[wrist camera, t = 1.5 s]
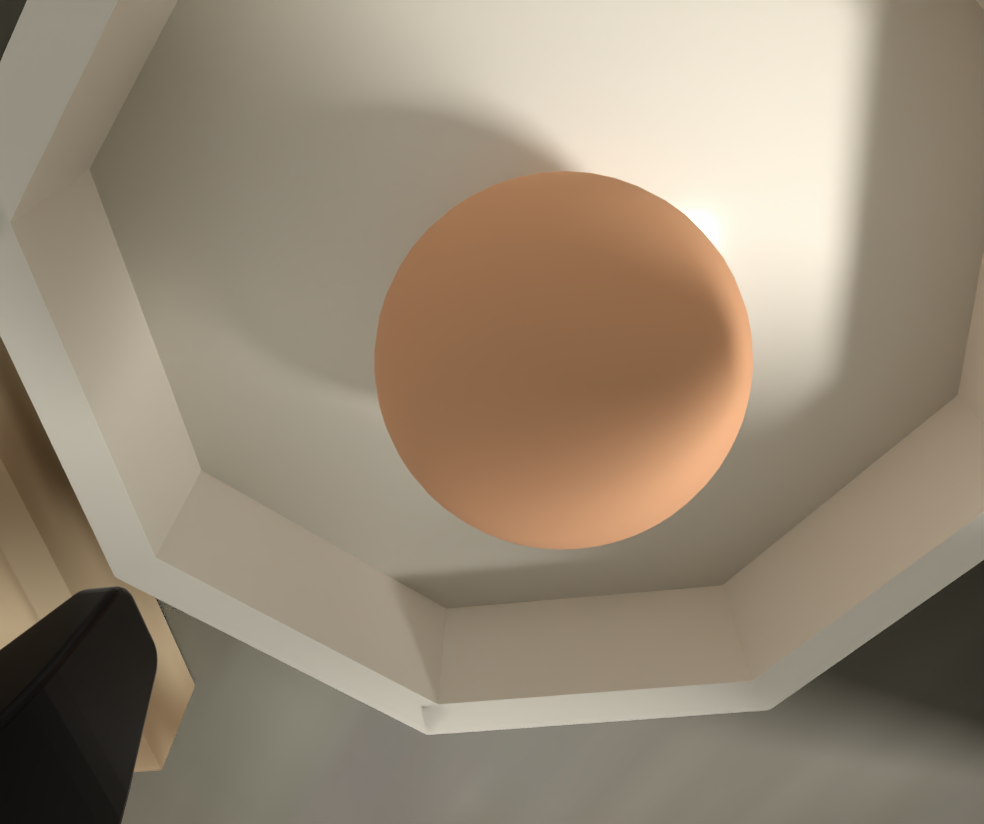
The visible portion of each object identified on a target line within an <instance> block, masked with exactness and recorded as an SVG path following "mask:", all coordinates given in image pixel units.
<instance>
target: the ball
mask: <svg viewBox="0 0 984 824" xmlns="http://www.w3.org/2000/svg"><path fill="white" fill-rule="evenodd" d="M374 373H375V381H376V388H377V394H378V401H379V406H380V410H381V413H382V416H383V419H384V423H385V426H386V428H387V431H388V433H389V435H390V437H391V439H392V442H393V444H394V446H395V448H396V450H397V452H398V454H399V456H400V458H401V459H402V461H403V462H404V464H405V465H406V467H407V468H408V470H409V471H410V473H411V474H412V475H413V476H414V477H415V479H416V480H417V481H418V482H419V483H420V484H421V486H422V487H423V488H424V489H425V490H426V491H427V493H428V494H429V495H430V496H431V497H432V498H433V499H435V500H436V501H437V502H438V503H439V504H440V505H441V506H442V507H444V508H445V509H446V510H448V511H449V512H450V513H452V514H453V515H455V516H456V517H458V518H459V519H461V520H462V521H464V522H465V523H467V524H469V525H471V526H473V527H474V528H476V529H478V530H480V531H482V532H484V533H486V534H488V535H491V536H494V537H496V538H499V539H501V540H504V541H508V542H511V543H515V544H519V545H523V546H529V547H535V548H542V549H558V550H562V549H582V548H589V547H596V546H601V545H606V544H610V543H614V542H618V541H621V540H624V539H626V538H629V537H632V536H635V535H637V534H639V533H642V532H644V531H646V530H648V529H650V528H652V527H654V526H656V525H657V524H659V523H661V522H662V521H664V520H665V519H667V518H669V517H670V516H672V515H673V514H674V513H676V512H677V511H678V510H679V509H681V508H682V507H683V506H684V505H686V504H687V503H688V502H689V501H690V500H691V499H692V498H693V497H694V496H695V495H696V494H697V493H698V492H699V491H700V490H701V489H702V488H703V487H704V486H705V485H706V484H707V483H708V482H709V480H710V479H711V478H712V477H713V475H714V474H715V473H716V472H717V470H718V469H719V468H720V466H721V464H722V463H723V461H724V459H725V457H726V456H727V454H728V452H729V451H730V449H731V447H732V445H733V443H734V441H735V439H736V437H737V434H738V432H739V430H740V427H741V425H742V422H743V420H744V416H745V412H746V408H747V404H748V400H749V395H750V390H751V382H752V373H753V350H752V336H751V329H750V324H749V319H748V314H747V310H746V307H745V304H744V301H743V299H742V296H741V293H740V290H739V288H738V285H737V283H736V280H735V278H734V276H733V274H732V272H731V270H730V269H729V267H728V265H727V263H726V261H725V260H724V258H723V256H722V255H721V254H720V253H719V251H718V250H717V249H716V247H715V246H714V245H713V243H712V242H711V241H710V240H709V238H708V237H707V236H706V235H705V234H704V232H703V231H702V230H701V229H700V228H699V227H698V226H697V225H696V224H695V223H694V222H693V221H691V220H690V219H689V218H688V217H687V216H686V215H685V214H684V213H682V212H681V211H680V210H678V209H677V208H675V207H674V206H673V205H671V204H670V203H668V202H667V201H666V200H664V199H662V198H660V197H658V196H656V195H654V194H652V193H650V192H648V191H646V190H645V189H643V188H641V187H639V186H636V185H633V184H631V183H628V182H625V181H622V180H619V179H616V178H613V177H608V176H603V175H598V174H594V173H585V172H572V171H559V172H542V173H536V174H531V175H526V176H520V177H516V178H513V179H510V180H507V181H504V182H501V183H498V184H495V185H492V186H490V187H488V188H486V189H484V190H482V191H480V192H478V193H475V194H473V195H471V196H470V197H468V198H467V199H465V200H464V201H462V202H461V203H459V204H458V205H456V206H455V207H453V208H452V209H450V210H449V211H448V212H447V213H446V214H445V215H443V216H442V217H441V218H440V219H439V220H438V221H437V222H435V223H434V224H433V225H432V226H431V227H430V228H429V229H428V230H427V231H426V232H425V233H424V234H423V235H422V236H421V238H420V239H419V240H418V241H417V242H416V243H415V244H414V246H413V247H412V248H411V250H410V251H409V253H408V254H407V256H406V257H405V259H404V260H403V262H402V264H401V265H400V267H399V269H398V271H397V273H396V275H395V277H394V279H393V281H392V284H391V286H390V288H389V290H388V292H387V294H386V297H385V300H384V303H383V307H382V310H381V313H380V317H379V322H378V329H377V336H376V343H375V350H374Z"/></svg>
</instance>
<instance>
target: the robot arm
mask: <svg viewBox="0 0 984 824" xmlns="http://www.w3.org/2000/svg"><path fill="white" fill-rule="evenodd" d="M157 662H158V659H157V650H156V646H155V643H154V641H153V639H152V636H151V634H150V632H149V630H148V628H147V626H146V624H145V621H144V619H143V617H142V615H141V613H140V611H139V609H138V606H137V604H136V602H135V600H134V598H133V596H132V595H131V593H130V592H129V591H128V590H127V589H125V588H123V587H119V586H113V587H102V588H90V589H85V590H81V591H79V592H77V593H76V594H74V595H73V596H72V597H70V598H69V599H68V600H66V601H65V602H64V603H62V604H61V605H60V606H58V607H57V608H56V609H54V610H53V611H52V612H50V613H49V614H48V615H46V616H45V617H43V618H42V619H41V620H39V621H38V622H37V623H35V624H34V625H33V626H31V627H30V628H29V629H27V630H26V631H25V632H23V633H22V634H21V635H19V636H18V637H17V638H15V639H14V640H13V641H11V642H10V643H9V644H7V645H6V646H5V647H3V648H2V649H1V650H0V824H121V821H122V818H123V814H124V810H125V806H126V802H127V798H128V795H129V790H130V786H131V781H132V777H133V773H134V768H135V764H136V760H137V755H138V751H139V746H140V742H141V738H142V733H143V729H144V725H145V720H146V716H147V711H148V707H149V703H150V698H151V694H152V689H153V685H154V681H155V676H156V672H157Z"/></svg>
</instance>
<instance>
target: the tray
mask: <svg viewBox="0 0 984 824" xmlns="http://www.w3.org/2000/svg"><path fill="white" fill-rule="evenodd" d="M113 586H119V587H123V588H125V589H127V590H128V591H129V592H130V593H131V595H132V596H133V598H134V600H135V602H136V604H137V606H138V609H139V611H140V613H141V615H142V617H143V619H144V621H145V624H146V626H147V628H148V630H149V632H150V634H151V636H152V639H153V641H154V643H155V646H156V650H157V659H158V662H157V672H156V676H155V681H154V685H153V689H152V694H151V698H150V703H149V707H148V711H147V716H146V720H145V725H144V729H143V733H142V738H141V742H140V746H139V751H138V755H137V760H136V764H135V768H134V772H140V771H154V770H162V768H163V766H164V763H165V760H166V758H167V755H168V753H169V750H170V748H171V745H172V743H173V740H174V738H175V735H176V733H177V730H178V727H179V725H180V722H181V720H182V717H183V715H184V712H185V710H186V707H187V705H188V702H189V699H190V697H191V694H192V692H193V689H194V687H195V685H194V682H193V680H192V678H191V676H190V673H189V671H188V669H187V667H186V664H185V662H184V660H183V658H182V656H181V653H180V651H179V649H178V647H177V644H176V642H175V640H174V638H173V636H172V633H171V631H170V629H169V627H168V624H167V622H166V620H165V618H164V615H163V613H162V611H161V609H160V607H159V604H158V602H157V600H156V598H155V597H153V596H151V595H149V594H147V593H145V592H143V591H141V590H139V589H137V588H135V587H133V586H131V585H129V584H127V583H125V582H123V581H122V580H120V579H118V578H116V577H115V576H114V574H113V572H112V570H111V568H110V566H109V564H108V562H107V560H106V557H105V555H104V553H103V551H102V549H101V547H100V545H99V543H98V541H97V539H96V536H95V534H94V532H93V530H92V528H91V526H90V524H89V522H88V520H87V517H86V515H85V513H84V511H83V509H82V507H81V505H80V503H79V501H78V498H77V496H76V494H75V492H74V490H73V488H72V486H71V484H70V482H69V480H68V477H67V475H66V473H65V471H64V469H63V467H62V465H61V463H60V461H59V458H58V456H57V454H56V452H55V450H54V448H53V446H52V444H51V442H50V439H49V437H48V435H47V433H46V431H45V429H44V427H43V425H42V423H41V420H40V418H39V416H38V414H37V412H36V410H35V408H34V406H33V404H32V402H31V399H30V397H29V395H28V393H27V391H26V389H25V387H24V385H23V383H22V380H21V378H20V376H19V374H18V372H17V370H16V368H15V366H14V364H13V361H12V359H11V357H10V355H9V353H8V351H7V349H6V347H5V345H4V342H3V340H2V338H1V336H0V650H1V649H2V648H3V647H5V646H6V645H7V644H9V643H10V642H11V641H13V640H14V639H15V638H17V637H18V636H19V635H21V634H22V633H23V632H25V631H26V630H27V629H29V628H30V627H31V626H33V625H34V624H35V623H37V622H38V621H39V620H41V619H42V618H43V617H45V616H46V615H48V614H49V613H50V612H52V611H53V610H54V609H56V608H57V607H58V606H60V605H61V604H62V603H64V602H65V601H66V600H68V599H69V598H70V597H72V596H73V595H74V594H76V593H77V592H79V591H81V590H85V589H90V588H102V587H113Z"/></svg>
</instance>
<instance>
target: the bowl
mask: <svg viewBox="0 0 984 824" xmlns="http://www.w3.org/2000/svg"><path fill="white" fill-rule="evenodd" d="M559 171H572V172H585V173H594V174H598V175H603V176H608V177H613V178H616V179H619V180H622V181H625V182H628V183H631V184H633V185H636V186H639V187H641V188H643V189H645V190H646V191H648V192H650V193H652V194H654V195H656V196H658V197H660V198H662V199H664V200H666V201H667V202H668V203H670V204H671V205H673V206H674V207H675V208H677V209H678V210H680V211H681V212H682V213H684V214H685V215H686V216H687V217H688V218H689V219H690V220H691V221H693V222H694V223H695V224H696V225H697V226H698V227H699V228H700V229H701V230H702V231H703V232H704V234H705V235H706V236H707V237H708V238H709V240H710V241H711V242H712V243H713V245H714V246H715V247H716V249H717V250H718V251H719V253H720V254H721V255H722V256H723V258H724V260H725V261H726V263H727V265H728V267H729V269H730V270H731V272H732V274H733V276H734V278H735V280H736V283H737V285H738V288H739V290H740V293H741V296H742V299H743V301H744V304H745V307H746V310H747V314H748V319H749V324H750V329H751V336H752V350H753V373H752V382H751V390H750V395H749V400H748V404H747V408H746V412H745V416H744V420H743V422H742V425H741V427H740V430H739V432H738V434H737V437H736V439H735V441H734V443H733V445H732V447H731V449H730V451H729V452H728V454H727V456H726V457H725V459H724V461H723V463H722V464H721V466H720V468H719V469H718V470H717V472H716V473H715V474H714V475H713V477H712V478H711V479H710V480H709V482H708V483H707V484H706V485H705V486H704V487H703V488H702V489H701V490H700V491H699V492H698V493H697V494H696V495H695V496H694V497H693V498H692V499H691V500H690V501H689V502H688V503H687V504H686V505H684V506H683V507H682V508H681V509H679V510H678V511H677V512H676V513H674V514H673V515H672V516H670V517H669V518H667V519H665V520H664V521H662V522H661V523H659V524H657V525H656V526H654V527H652V528H650V529H648V530H646V531H644V532H642V533H639V534H637V535H635V536H632V537H629V538H626V539H624V540H621V541H618V542H614V543H610V544H606V545H601V546H596V547H589V548H582V549H562V550H558V549H542V548H535V547H529V546H523V545H519V544H515V543H511V542H508V541H504V540H501V539H499V538H496V537H494V536H491V535H488V534H486V533H484V532H482V531H480V530H478V529H476V528H474V527H473V526H471V525H469V524H467V523H465V522H464V521H462V520H461V519H459V518H458V517H456V516H455V515H453V514H452V513H450V512H449V511H448V510H446V509H445V508H444V507H442V506H441V505H440V504H439V503H438V502H437V501H436V500H435V499H433V498H432V497H431V496H430V495H429V494H428V493H427V491H426V490H425V489H424V488H423V487H422V486H421V484H420V483H419V482H418V481H417V480H416V479H415V477H414V476H413V475H412V474H411V473H410V471H409V470H408V468H407V467H406V465H405V464H404V462H403V461H402V459H401V458H400V456H399V454H398V452H397V450H396V448H395V446H394V444H393V442H392V439H391V437H390V435H389V433H388V431H387V428H386V426H385V423H384V419H383V416H382V413H381V410H380V406H379V401H378V394H377V388H376V381H375V373H374V350H375V343H376V336H377V329H378V322H379V317H380V313H381V310H382V307H383V303H384V300H385V297H386V294H387V292H388V290H389V288H390V286H391V284H392V281H393V279H394V277H395V275H396V273H397V271H398V269H399V267H400V265H401V264H402V262H403V260H404V259H405V257H406V256H407V254H408V253H409V251H410V250H411V248H412V247H413V246H414V244H415V243H416V242H417V241H418V240H419V239H420V238H421V236H422V235H423V234H424V233H425V232H426V231H427V230H428V229H429V228H430V227H431V226H432V225H433V224H434V223H435V222H437V221H438V220H439V219H440V218H441V217H442V216H443V215H445V214H446V213H447V212H448V211H449V210H450V209H452V208H453V207H455V206H456V205H458V204H459V203H461V202H462V201H464V200H465V199H467V198H468V197H470V196H471V195H473V194H475V193H478V192H480V191H482V190H484V189H486V188H488V187H490V186H492V185H495V184H498V183H501V182H504V181H507V180H510V179H513V178H516V177H520V176H526V175H531V174H536V173H542V172H559ZM0 336H1V338H2V340H3V342H4V345H5V347H6V349H7V351H8V353H9V355H10V357H11V359H12V361H13V364H14V366H15V368H16V370H17V372H18V374H19V376H20V378H21V380H22V383H23V385H24V387H25V389H26V391H27V393H28V395H29V397H30V399H31V402H32V404H33V406H34V408H35V410H36V412H37V414H38V416H39V418H40V420H41V423H42V425H43V427H44V429H45V431H46V433H47V435H48V437H49V439H50V442H51V444H52V446H53V448H54V450H55V452H56V454H57V456H58V458H59V461H60V463H61V465H62V467H63V469H64V471H65V473H66V475H67V477H68V480H69V482H70V484H71V486H72V488H73V490H74V492H75V494H76V496H77V498H78V501H79V503H80V505H81V507H82V509H83V511H84V513H85V515H86V517H87V520H88V522H89V524H90V526H91V528H92V530H93V532H94V534H95V536H96V539H97V541H98V543H99V545H100V547H101V549H102V551H103V553H104V555H105V557H106V560H107V562H108V564H109V566H110V568H111V570H112V572H113V574H114V576H115V577H116V578H118V579H120V580H122V581H123V582H125V583H127V584H129V585H131V586H133V587H135V588H137V589H139V590H141V591H143V592H145V593H147V594H149V595H151V596H153V597H155V598H157V599H159V600H161V601H163V602H165V603H167V604H169V605H171V606H173V607H175V608H177V609H179V610H181V611H183V612H185V613H187V614H189V615H191V616H193V617H195V618H197V619H199V620H201V621H203V622H205V623H207V624H209V625H211V626H213V627H215V628H217V629H219V630H221V631H222V632H224V633H226V634H228V635H230V636H232V637H234V638H236V639H238V640H240V641H242V642H244V643H246V644H248V645H250V646H252V647H254V648H256V649H258V650H260V651H262V652H264V653H266V654H268V655H270V656H272V657H274V658H276V659H278V660H280V661H282V662H284V663H286V664H288V665H290V666H292V667H294V668H296V669H298V670H300V671H302V672H304V673H306V674H308V675H310V676H312V677H314V678H316V679H318V680H320V681H321V682H323V683H325V684H327V685H329V686H331V687H333V688H335V689H337V690H339V691H341V692H343V693H345V694H347V695H349V696H351V697H353V698H355V699H357V700H359V701H361V702H363V703H365V704H367V705H369V706H371V707H373V708H375V709H377V710H379V711H381V712H383V713H385V714H387V715H389V716H391V717H393V718H395V719H397V720H399V721H401V722H403V723H405V724H407V725H409V726H411V727H413V728H415V729H417V730H418V731H420V732H422V733H424V734H426V735H432V734H446V733H460V732H474V731H488V730H502V729H515V728H529V727H543V726H557V725H571V724H584V723H598V722H612V721H626V720H640V719H654V718H667V717H681V716H695V715H709V714H723V713H736V712H750V711H764V710H770V709H772V708H773V707H775V706H776V705H778V704H779V703H780V702H782V701H783V700H785V699H786V698H788V697H789V696H790V695H792V694H793V693H795V692H796V691H798V690H799V689H800V688H802V687H803V686H805V685H806V684H808V683H809V682H810V681H812V680H813V679H815V678H816V677H817V676H819V675H820V674H822V673H823V672H825V671H826V670H827V669H829V668H830V667H832V666H833V665H835V664H836V663H837V662H839V661H840V660H842V659H843V658H845V657H846V656H847V655H849V654H850V653H852V652H853V651H855V650H856V649H857V648H859V647H860V646H862V645H863V644H865V643H866V642H867V641H869V640H870V639H872V638H873V637H874V636H876V635H877V634H879V633H880V632H882V631H883V630H884V629H886V628H887V627H889V626H890V625H892V624H893V623H894V622H896V621H897V620H899V619H900V618H902V617H903V616H904V615H906V614H907V613H909V612H910V611H912V610H913V609H914V608H916V607H917V606H919V605H920V604H922V603H923V602H924V601H926V600H927V599H929V598H930V597H931V596H933V595H934V594H936V593H937V592H939V591H940V590H941V589H943V588H944V587H946V586H947V585H949V584H950V583H951V582H953V581H954V580H956V579H957V578H959V577H960V576H961V575H963V574H964V573H966V572H967V571H969V570H970V569H971V568H973V567H974V566H976V565H977V564H979V563H980V562H981V561H983V560H984V0H27V1H26V4H25V6H24V8H23V11H22V13H21V15H20V17H19V20H18V22H17V24H16V27H15V29H14V31H13V33H12V36H11V38H10V40H9V43H8V45H7V47H6V49H5V52H4V54H3V56H2V59H1V61H0Z"/></svg>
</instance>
